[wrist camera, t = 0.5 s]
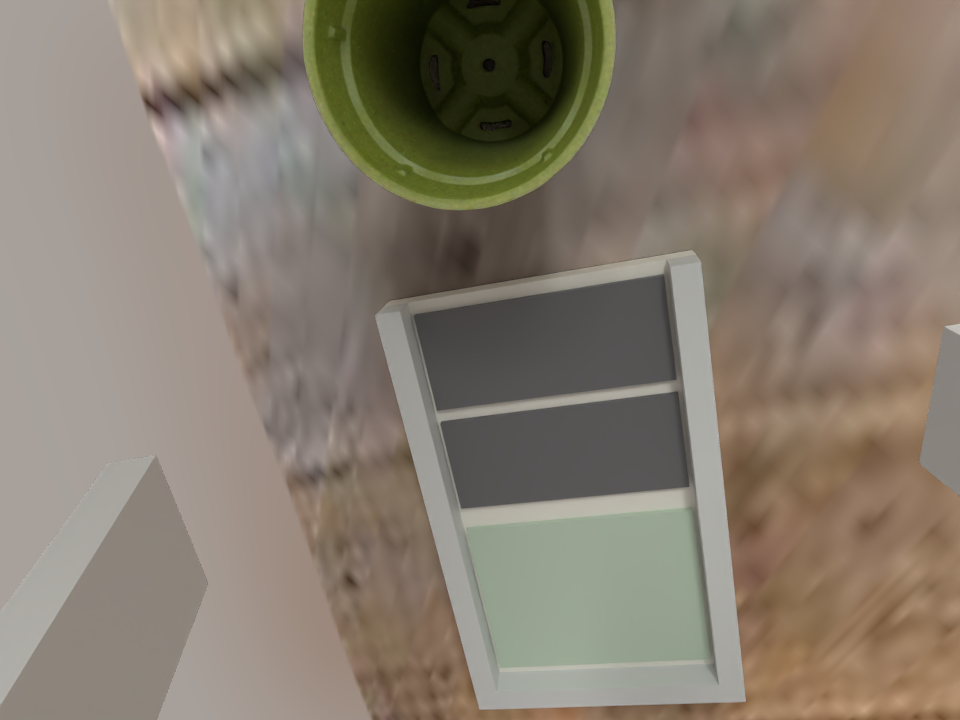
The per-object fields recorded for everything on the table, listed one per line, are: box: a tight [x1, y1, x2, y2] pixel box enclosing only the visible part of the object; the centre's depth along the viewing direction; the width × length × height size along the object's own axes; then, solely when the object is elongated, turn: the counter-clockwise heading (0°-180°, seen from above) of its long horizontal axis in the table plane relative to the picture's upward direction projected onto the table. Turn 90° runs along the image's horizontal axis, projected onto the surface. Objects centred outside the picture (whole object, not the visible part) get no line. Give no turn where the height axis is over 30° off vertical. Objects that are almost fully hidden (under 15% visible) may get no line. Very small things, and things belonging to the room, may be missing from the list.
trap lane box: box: [375, 250, 746, 710], centre depth 33 cm, size 23×14×2 cm, turn 12°
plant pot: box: [303, 0, 616, 211], centre depth 24 cm, size 9×9×9 cm
